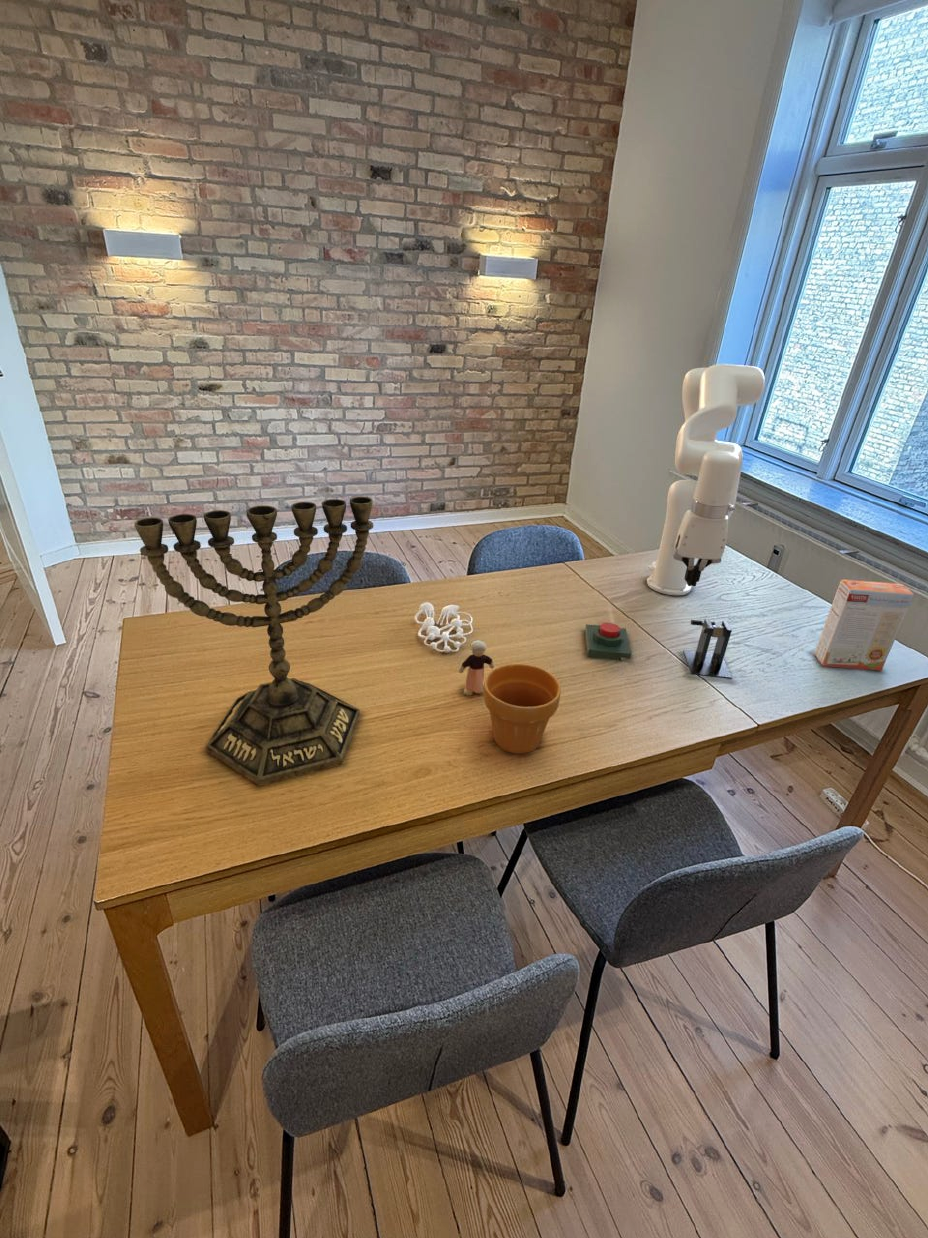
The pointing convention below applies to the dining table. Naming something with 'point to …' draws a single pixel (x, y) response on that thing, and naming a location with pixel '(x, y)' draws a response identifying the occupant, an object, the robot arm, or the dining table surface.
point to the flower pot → (520, 704)
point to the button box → (606, 644)
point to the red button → (609, 630)
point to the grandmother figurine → (476, 668)
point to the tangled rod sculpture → (434, 631)
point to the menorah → (285, 708)
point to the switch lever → (716, 628)
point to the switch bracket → (710, 662)
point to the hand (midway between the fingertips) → (690, 583)
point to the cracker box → (862, 624)
